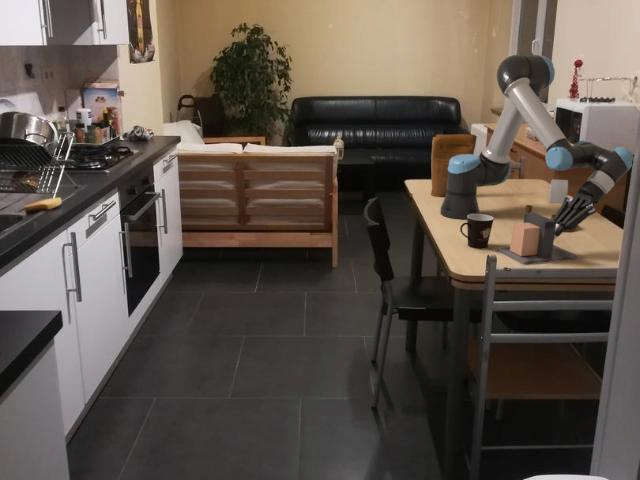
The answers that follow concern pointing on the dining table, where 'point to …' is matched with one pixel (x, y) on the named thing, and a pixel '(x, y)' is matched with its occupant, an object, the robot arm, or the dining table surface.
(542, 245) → the dark grey archway
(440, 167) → the pancake mix bag
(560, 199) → the tea bag
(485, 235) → the coffee mug
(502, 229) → the dining table surface
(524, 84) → the robot arm
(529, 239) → the peach box
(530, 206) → the place setting
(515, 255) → the base board
